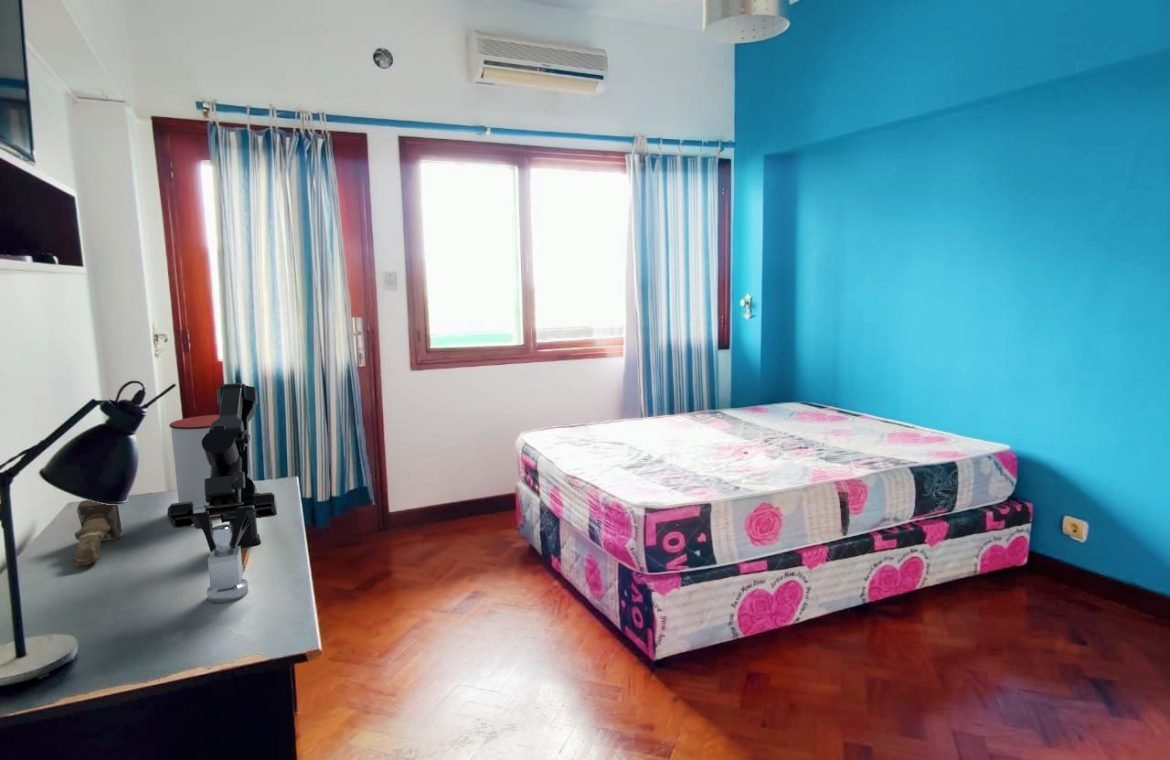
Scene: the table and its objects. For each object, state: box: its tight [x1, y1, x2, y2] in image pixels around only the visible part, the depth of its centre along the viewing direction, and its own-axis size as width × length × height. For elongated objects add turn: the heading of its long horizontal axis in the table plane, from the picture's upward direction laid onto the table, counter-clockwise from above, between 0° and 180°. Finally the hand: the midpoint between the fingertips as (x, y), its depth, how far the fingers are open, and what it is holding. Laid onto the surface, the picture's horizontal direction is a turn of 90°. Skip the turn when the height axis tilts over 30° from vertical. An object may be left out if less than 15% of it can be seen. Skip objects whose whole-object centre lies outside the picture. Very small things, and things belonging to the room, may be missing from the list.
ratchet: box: [206, 548, 250, 605], centre depth 137 cm, size 23×7×4 cm, turn 21°
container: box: [169, 414, 221, 520], centre depth 180 cm, size 17×17×25 cm
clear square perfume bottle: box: [207, 524, 244, 589], centre depth 129 cm, size 5×5×11 cm
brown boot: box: [72, 499, 123, 566], centre depth 153 cm, size 8×22×15 cm
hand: (222, 549), depth 127 cm, fingers closed on clear square perfume bottle, 3 cm apart
